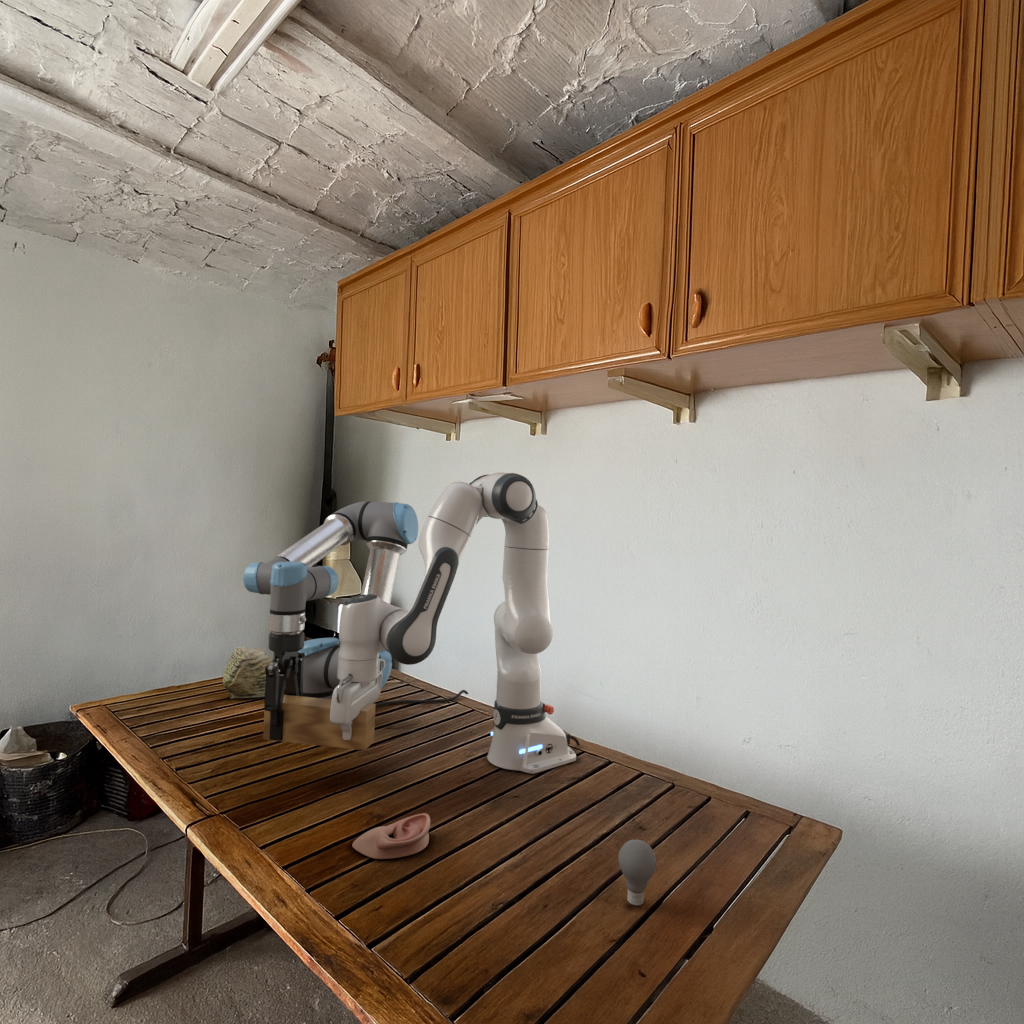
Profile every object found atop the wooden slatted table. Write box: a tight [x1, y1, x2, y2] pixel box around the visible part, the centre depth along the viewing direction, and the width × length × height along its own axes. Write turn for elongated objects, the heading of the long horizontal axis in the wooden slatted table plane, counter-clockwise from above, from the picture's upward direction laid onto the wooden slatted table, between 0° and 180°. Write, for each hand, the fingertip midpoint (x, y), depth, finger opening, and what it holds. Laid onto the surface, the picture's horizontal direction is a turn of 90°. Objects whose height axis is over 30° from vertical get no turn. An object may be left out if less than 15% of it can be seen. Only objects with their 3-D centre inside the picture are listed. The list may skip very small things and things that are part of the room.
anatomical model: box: [351, 812, 431, 860], centre depth 117 cm, size 13×4×12 cm
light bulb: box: [618, 838, 657, 906], centre depth 102 cm, size 6×6×10 cm
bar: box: [262, 694, 377, 751], centre depth 140 cm, size 24×5×8 cm, turn 81°
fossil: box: [222, 646, 286, 699], centre depth 198 cm, size 9×18×15 cm, turn 132°
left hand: (283, 734), depth 142 cm, fingers closed on bar, 5 cm apart
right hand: (355, 731), depth 139 cm, fingers open, 7 cm apart
